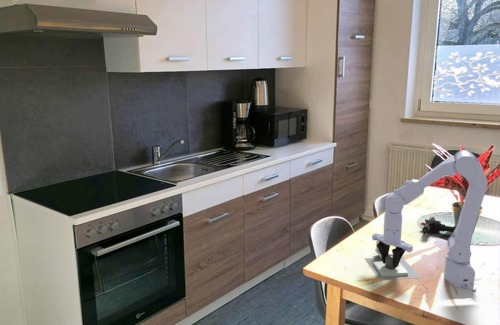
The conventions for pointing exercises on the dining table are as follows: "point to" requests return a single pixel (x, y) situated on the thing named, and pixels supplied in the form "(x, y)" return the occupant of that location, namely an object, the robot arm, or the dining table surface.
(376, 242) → the bolt
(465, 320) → the dining table surface
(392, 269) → the lid
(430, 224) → the black power drill
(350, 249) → the dining table surface
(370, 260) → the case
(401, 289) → the dining table surface
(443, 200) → the dining table surface
